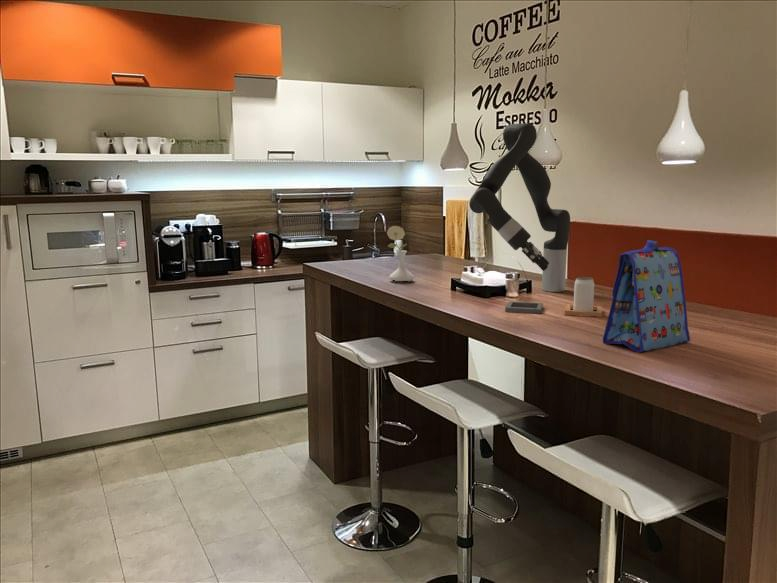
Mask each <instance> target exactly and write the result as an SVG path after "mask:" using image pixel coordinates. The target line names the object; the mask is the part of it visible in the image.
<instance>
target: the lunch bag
mask: <svg viewBox="0 0 777 583" xmlns="http://www.w3.org/2000/svg"><path fill="white" fill-rule="evenodd" d="M683 275H684V274H683V268H682V263H681V260H680V256H679V253H678V251H677V250H675V248H672V247H669V246H663V247H659V243H658V241H654V240H649V239H648V240H647V241H646V244H645V246H644V247H643V248H642V249H636V250H634V249H633V250H629V251H626V252H624V253H621V254H620V255H619V259H618V267H617V273H616V275H615V276H616V277H615V280H614V283H613V288H612V300H611V305H610V308H609V312H608V317H607V321H606V325H605V329H604V332H603V336H602V343H603V344H605V345H610V344H611V345H612V344H613V345H615V344H617V345H624V346H627V347H628V348H629V349H631V350H633V351H635V352H636V353H643V352H648V351H652V350H658V349H662V348H667V347H672V346H675V345H680V344H683V343H684V344H685V343H688V342H690V340H691V336H690V331H689V326H688V325H689V324H688V312H687V304H686V294H685V287H684V277H683Z"/></svg>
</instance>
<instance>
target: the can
mask: <svg viewBox="0 0 777 583" xmlns="http://www.w3.org/2000/svg"><path fill="white" fill-rule="evenodd" d="M575 278H576V279H575V281H574V288H573V305H574V308H573V310H576V311H593V306H594V302H595V301H594V300H595V299H594V298H595V282H594V278H593V277H589V276H588V277H586V276H583V277H582V276H579V277H575ZM593 312H594V311H593Z"/></svg>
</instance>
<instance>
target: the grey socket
mask: <svg viewBox="0 0 777 583" xmlns="http://www.w3.org/2000/svg"><path fill="white" fill-rule="evenodd" d="M535 307H537V308H535ZM543 308H544V303H543V302H533V301H532V302H531V301H530V302H529V301H527V302H526V301H514V300H513V301H512V300H509V301H508V302H507V303H506V306H505V308H504V311H505V312H507V313H510V312H511V313H520V312H523V313H524V314H526V313H527V314H538V313H541V314H542V310H543Z"/></svg>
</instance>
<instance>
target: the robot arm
mask: <svg viewBox="0 0 777 583" xmlns="http://www.w3.org/2000/svg"><path fill="white" fill-rule="evenodd" d="M537 136H538V133H537V128H536V127H535V125H534V124H531V123H528V122H526V123H524V122H523V123H512V124H511V123H510V124H507V125H505V127H504V128H503V131H502V139H503V143H504V145H505V147H506V149H507V152H506V153H505V154H503V156H501V157H500V158H499V159H497V160H495V162H494V163H493V164H492V165H491V166H490V168H489V169H488V170H487V172H486V174H485V175H484V177H483V179H482V181H481V183H480V184H479V186H478V187H477V188H476V190H475V191H474V193H473V194H472V196H471V197H470V199H469V205H468V206H469V208H470V210H471V211H472V212H474V213H475V214H482V213H484V212H485V213H486V214H487V215H488V218H487V219H488V220H487V221H488V223H489V224H490V226H492V228H494V229H495V231H496V232H497V233H498V234H499V235H500V237H502V239H503V240H505V242H506V243H507V244H509V246H510V247H511V248H512V249H513V251H518V250H519V249H520V248H521V252H522V253H523V254H524V256H526V257H527V258H528V259H529V260H530V261H531V263H533V264H536V265H537V267H539V269H541V270H542V278H541V282H542V283H541V290H542V291H544V292H551V293H552V292H553V293H560V292H561V291H562V292H565V290H566V276H567V275H566V274H567V273H566V272H567V253H568V250H567V248H568V243H569V238H570V231H571V230H570V229H571V227H570V226H571V216H570V215H571V214H570V213H569V211H568V210H566V209H559V208H552V207H550V205H549V202H548V198H549V194H550V191H551V187H552V183H551V180H550V177H549V174H548V171H547V170H546V168H545V167H544V166H543V165H542V163H540V162H539V161H538V160H537V159H536V158H535V157H534V156H532V154H530V153H529V151H530V150H531V149H532V148H533V146H534V145H535V143H536V141H537ZM515 167H517V169H518V172H519V173H520V176H521V178H522V181H523V182H524V186H525V187H526V189H527V192H528V194H529V195H530V198H531V201H532V203H533V205H534V208H535V211H536V214H537V218H538V221H539V223H540V226H541V228H542V230H544V231H545V232H549V233H555V234H554V237H553V238H551V239H549V240H545V241H544V242H543V252H542V251H540V250H539V248H538V247H537V246H535V244H534V243H532V242H531V241H529V239H530V238H532V237H531V234H530V232H528V231H527V230H526V229H525V227H523V226H522V225H521V224H520V223H519V222H518V221H517V220H515V218H513V216H511V214H509V213H508V212H507V211H506V210H505V208H504V207H503V205H502V203H501V202H500V200H499V198H498V197H497V196H496V194H497V193H498V192H499V191H500V190H501V188H502V186H503V185H504V183H505V181H506V180H507V178H508V177H509V175H510V174H511V172H513V170H514V169H515Z"/></svg>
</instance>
